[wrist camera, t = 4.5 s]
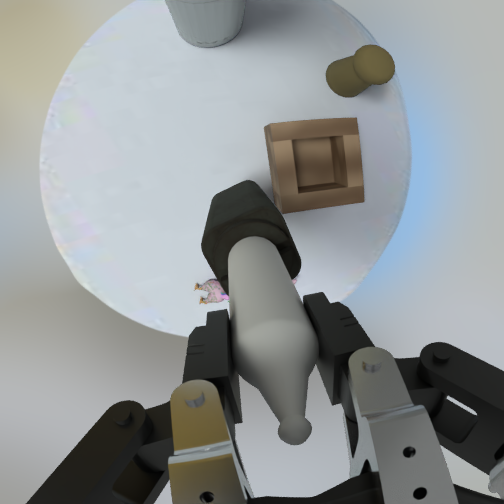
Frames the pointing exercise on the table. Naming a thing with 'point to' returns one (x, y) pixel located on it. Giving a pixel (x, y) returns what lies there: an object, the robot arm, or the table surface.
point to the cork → (360, 71)
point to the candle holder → (315, 163)
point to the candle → (263, 302)
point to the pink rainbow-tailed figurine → (215, 291)
